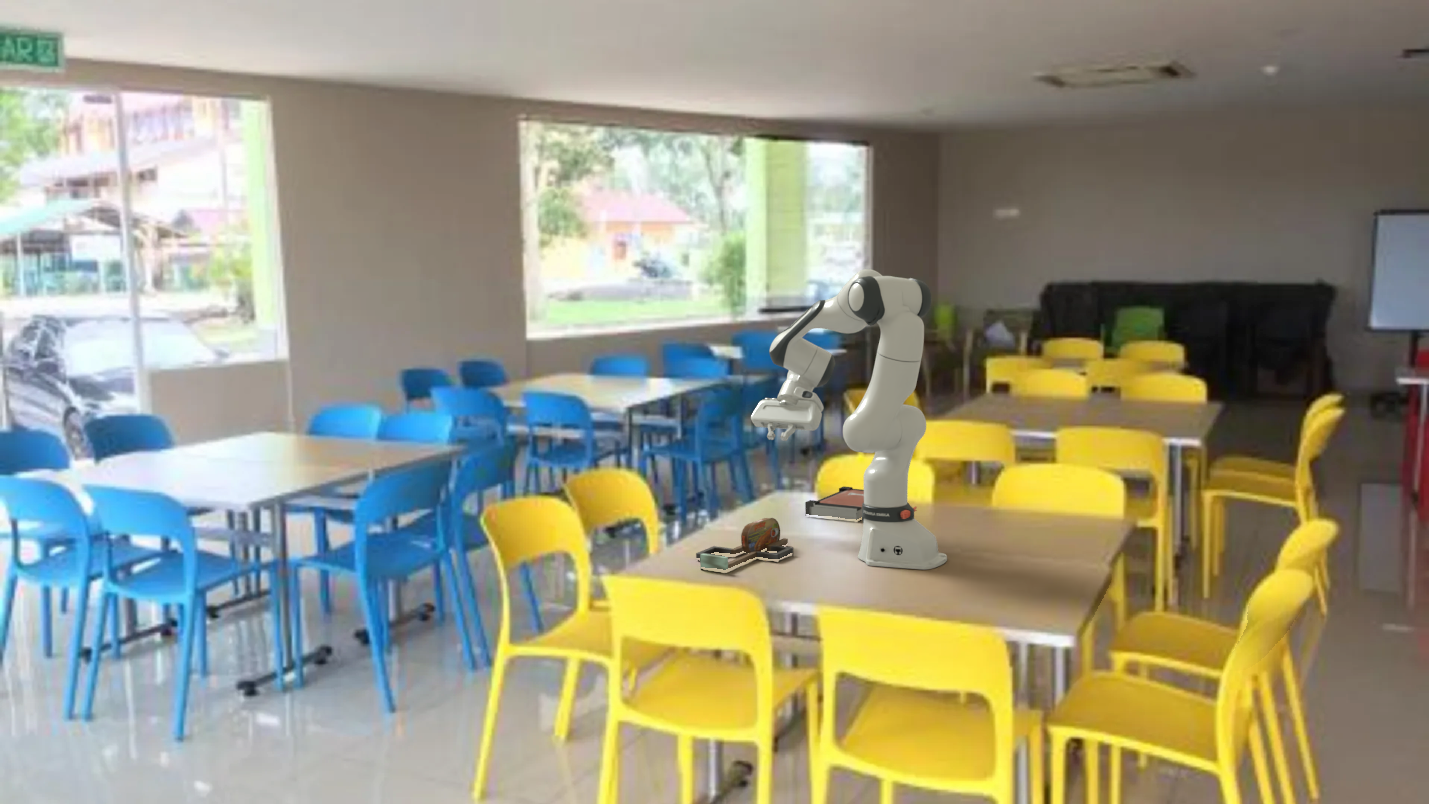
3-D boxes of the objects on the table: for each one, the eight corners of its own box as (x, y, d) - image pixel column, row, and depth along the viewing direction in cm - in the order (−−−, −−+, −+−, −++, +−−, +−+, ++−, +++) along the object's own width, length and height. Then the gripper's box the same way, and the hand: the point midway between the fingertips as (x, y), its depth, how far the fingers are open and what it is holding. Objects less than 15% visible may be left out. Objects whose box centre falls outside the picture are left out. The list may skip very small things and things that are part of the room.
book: (859, 524, 344) (859, 507, 343) (805, 518, 353) (805, 502, 352) (895, 506, 366) (895, 490, 365) (843, 502, 375) (843, 486, 374)
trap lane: (807, 548, 316) (807, 533, 315) (746, 576, 290) (746, 560, 289) (745, 540, 326) (744, 526, 326) (680, 567, 300) (680, 551, 300)
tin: (749, 558, 307) (748, 526, 306) (739, 556, 309) (738, 525, 308) (781, 546, 319) (781, 515, 318) (771, 544, 321) (771, 514, 320)
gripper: (757, 391, 337) (740, 429, 330) (821, 394, 326) (804, 434, 319) (765, 404, 341) (748, 443, 334) (829, 408, 330) (813, 448, 323)
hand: (776, 439), depth 326 cm, fingers open, 3 cm apart
